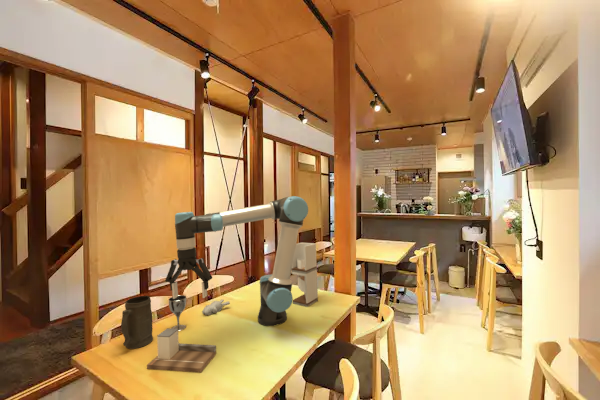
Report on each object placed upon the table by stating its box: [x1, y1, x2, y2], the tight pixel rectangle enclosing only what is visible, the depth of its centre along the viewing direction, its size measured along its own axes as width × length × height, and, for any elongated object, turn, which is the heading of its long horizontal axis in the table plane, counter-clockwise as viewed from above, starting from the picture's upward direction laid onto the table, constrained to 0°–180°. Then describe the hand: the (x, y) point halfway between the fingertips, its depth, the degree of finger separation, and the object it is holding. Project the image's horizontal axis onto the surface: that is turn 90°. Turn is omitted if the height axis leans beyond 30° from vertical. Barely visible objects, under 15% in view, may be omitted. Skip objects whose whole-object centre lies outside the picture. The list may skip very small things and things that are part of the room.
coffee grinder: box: [291, 242, 319, 308], centre depth 163 cm, size 11×11×35 cm
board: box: [146, 342, 217, 374], centre depth 106 cm, size 22×12×4 cm, turn 81°
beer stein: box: [120, 295, 154, 350], centre depth 119 cm, size 15×11×20 cm
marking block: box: [156, 328, 180, 359], centre depth 108 cm, size 5×6×9 cm
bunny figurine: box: [201, 299, 231, 316], centre depth 154 cm, size 10×5×15 cm
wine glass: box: [168, 294, 187, 332], centre depth 134 cm, size 8×8×15 cm
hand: (190, 297), depth 116 cm, fingers open, 13 cm apart
